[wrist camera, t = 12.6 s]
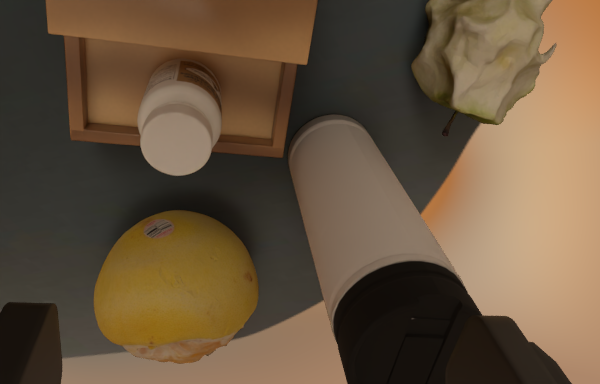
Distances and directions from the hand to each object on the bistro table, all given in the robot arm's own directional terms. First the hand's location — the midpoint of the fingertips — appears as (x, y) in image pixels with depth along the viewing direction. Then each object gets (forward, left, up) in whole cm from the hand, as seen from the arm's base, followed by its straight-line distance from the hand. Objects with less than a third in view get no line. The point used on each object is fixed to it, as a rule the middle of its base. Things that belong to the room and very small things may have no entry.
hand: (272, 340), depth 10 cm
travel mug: (+8, +8, -26) cm, 28 cm away
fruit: (+16, -2, -26) cm, 31 cm away
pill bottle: (+3, -3, -24) cm, 24 cm away
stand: (+1, -3, -26) cm, 26 cm away
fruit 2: (-2, +16, -27) cm, 31 cm away
